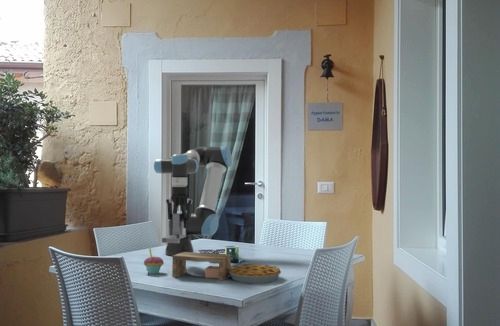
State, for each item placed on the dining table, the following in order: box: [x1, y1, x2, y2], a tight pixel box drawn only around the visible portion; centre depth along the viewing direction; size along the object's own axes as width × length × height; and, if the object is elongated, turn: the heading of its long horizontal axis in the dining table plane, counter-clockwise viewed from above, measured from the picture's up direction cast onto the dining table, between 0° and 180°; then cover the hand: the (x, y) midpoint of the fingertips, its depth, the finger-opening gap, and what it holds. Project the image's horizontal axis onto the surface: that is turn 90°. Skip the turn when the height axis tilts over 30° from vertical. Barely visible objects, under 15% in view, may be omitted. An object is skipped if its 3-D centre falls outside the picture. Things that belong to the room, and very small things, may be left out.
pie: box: [229, 264, 282, 284], centre depth 224 cm, size 22×22×5 cm
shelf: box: [171, 252, 232, 281], centre depth 228 cm, size 11×22×9 cm, turn 74°
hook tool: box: [161, 211, 186, 244], centre depth 249 cm, size 21×9×12 cm, turn 164°
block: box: [204, 265, 219, 279], centre depth 228 cm, size 6×6×4 cm
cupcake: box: [143, 245, 164, 275], centre depth 235 cm, size 9×8×12 cm
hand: (179, 234), depth 256 cm, fingers closed on hook tool, 3 cm apart
